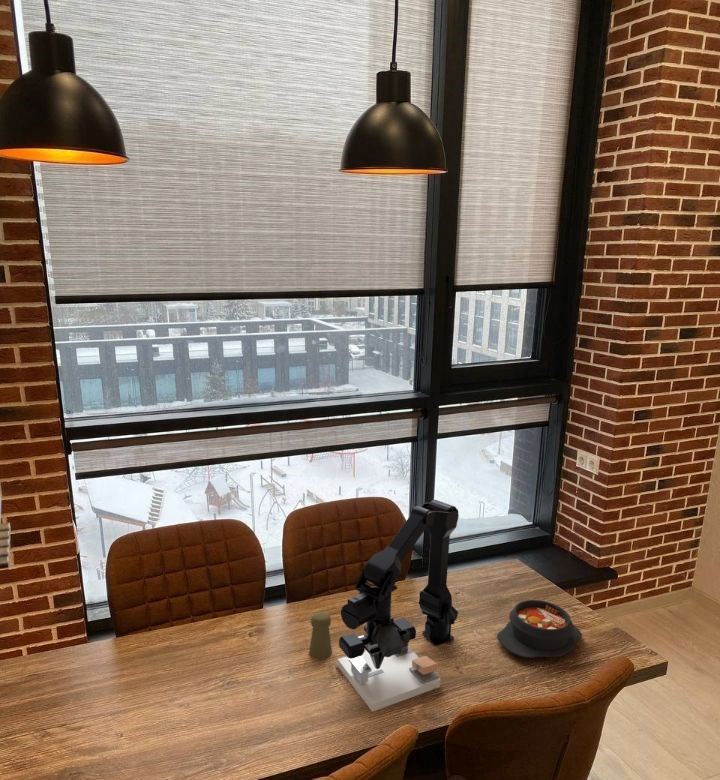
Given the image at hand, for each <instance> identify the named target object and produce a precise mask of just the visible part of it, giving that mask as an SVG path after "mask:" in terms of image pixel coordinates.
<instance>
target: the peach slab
mask: <svg viewBox="0 0 720 780" xmlns="http://www.w3.org/2000/svg"><path fill="white" fill-rule="evenodd" d="M412 667H413V668H415V669H416V670H418V671H419V672H420V673H422V674H423V675H424V674H427V673H430V672H433V671H434V672H436V671H437V670H438V663H437V662H436V661H434V660H432V659H431V658H430V657H428V656H426V655H424V656H420V657H419V658H417V659H414V660H412Z"/></svg>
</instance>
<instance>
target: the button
mask: <svg viewBox="0 0 720 780" xmlns="http://www.w3.org/2000/svg"><path fill="white" fill-rule="evenodd" d="M408 647H409V645H408V646H407V647H403V648H402V651H401V653H404V652H406V651H407V650H408Z"/></svg>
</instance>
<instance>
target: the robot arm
mask: <svg viewBox="0 0 720 780" xmlns="http://www.w3.org/2000/svg"><path fill="white" fill-rule="evenodd" d="M458 521H459V509H458V508H457V506H454V505H451V504H449V503H446V502H443V501H440V500H439V499H438V500H437V499H432V500H431V501H430V502H422V503H421V504H420V505H418V506H417V505H416V506H414V507H413V508H412V509H411V511H410V516H409V517H408V518H407V520H406V521H405V522H404V523H403V525H402V526H401V527H400V529H399V530H398V532H397V533H396V534H395V536H394V537H393V538H392V540H391V541H390V543H389V544H388V545H387V546H386V548H384V549H383V550H380V551H378V552H376V553H375V554H374V555H373V556H372V557H371V558H370V559H369V560H368V561H367V562H366V563H365V565H364V567H363V569H362V571H361V574H360V576H359V578H358V579H357V582H356V585H355V586H354V590H356V591H358V594H357V595H356V596H355V595H354V596H351V598H348V599H347V603H345V604H344V605H342V608H341V609H340V616H341V620H342V621H343V623H344V625H345V626H346V627H347V628H348V629H350V630H356V629H358V628H359V627H361V626H363V631H364V632H365V635H360V636H358V635H357V634H356V633H355V632H352V633H349V634H345V635H341V636H340V637H339V639H338V647H339V648H340V649H341V651H342V652H343V653H344V655H345V657H346V656H347V657H348V658H350V659H353V658H356V657H359V656H362V655H363V653H364V651H365V650H366V651H367V652H368V653H369V654H370V657H371V659H372V662H373V664H374V667H375V668H376V669H379V668H380V666H381V664H382V662H383V659H384V657H391V656H392V655H395V654H400V653H401V651H402V648H403V647H407V646H408V647H409V643H410V641H412V640H416V637H417V629H416V627H415V626H414V625H413V624H412V623H411V622H410V621H409V620H408V619H407V618H405V617H401V618H399V619H398V618H397V619H394V617H393V616H392V593H393V592H395V591H396V590H398V586H397V585H396V583H397V580H398V578H399V577H400V575H401V573H402V564H403V562H404V560H405V559H406V557H407V556H408V554H409V553H410V551H411V550H412V549H413V548H414V546H415V544H416V543H417V542H418V541H419V540H420V538H421V536H422V535H423V533H424V532H425V530H426V529H428V531H429V534H430V540H429V541H430V542H429V543H430V545H429V559H428V562H429V563H428V573H427V575H428V577H427V585H426V586H425V587H424V588H423V589H422V590H420V591H419V594H418V595H419V600H418V605H419V608H420V610H421V614H423V615H426V621H425V623H424V630H422V635H423V636H424V637H425V638H426V639H428V641H429V642H431V644H432V645H434V646H439V645H442V644H445V643H447V642H450V641H454V640H455V637H454V636H453V635H452V634H451V633H452V632H451V631H452V625H454V624H455V623H456V622H455V621H456V620H457V618H458V615H459V611H458V610H457V609H456V608H455V607H454V606H453V599H452V598H453V596H452V594H451V591H450V589H449V587H448V586H447V579H448V567H449V566H448V565H449V552H450V537H451V534H452V533H453V532H454V531H455V529H456V528H457V527H458ZM366 583H369V584H371V585H373V587H372V586H371V585H369V584H366ZM364 624H366V625H364Z"/></svg>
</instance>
